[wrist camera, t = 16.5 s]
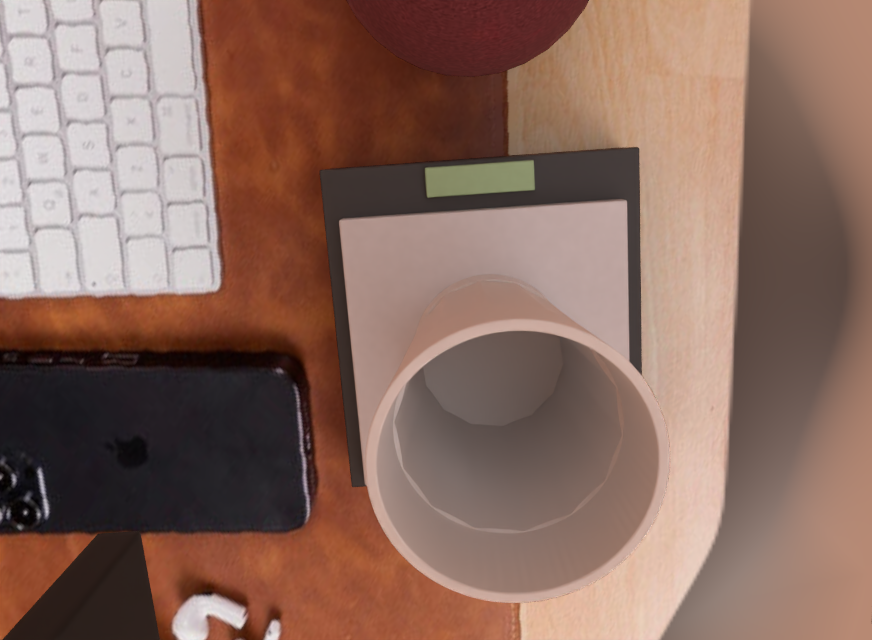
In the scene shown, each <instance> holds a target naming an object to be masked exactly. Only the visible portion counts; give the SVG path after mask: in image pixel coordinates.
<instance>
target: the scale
mask: <svg viewBox="0 0 872 640" xmlns="http://www.w3.org/2000/svg"><path fill="white" fill-rule="evenodd" d="M320 180H321V190H322V200H323V209H324V219H325V229H326V239H327V248H328V258H329V268H330V278H331V287H332V297H333V307H334V317H335V326H336V336H337V346H338V356H339V365H340V375H341V385H342V395H343V404H344V414H345V424H346V434H347V443H348V453H349V463H350V473H351V482H352V487H363V486H367V483H366V474H365V453H366V444H367V438H368V433H369V429H370V426H371V422H372V419H373V417H374V414H375V411H376V409H377V407H378V405H379V403H380V401H381V399H382V397H383V395H384V393H385V392H386V390H387V388H388V386H389V384H390V383H391V381H392V379H393V377H394V375H395V374H396V372H397V370H398V368H399V366H400V364H401V362H402V360H403V358H404V356H405V354H406V352H407V350H408V348H409V346H410V344H411V342H412V340H413V338H414V336H415V334H416V330H417V327H418V324H419V321H420V319H421V317H422V315H423V313H424V311H425V310H426V308H427V307H428V305H429V304H430V303H431V302H432V300H433V299H434V298H435V297H436V296H437V295H438V294H439V293H441V292H442V291H443V290H444V289H446V288H447V287H449V286H450V285H452V284H454V283H456V282H458V281H460V280H463V279H465V278H468V277H472V276H477V275H484V274H497V275H505V276H510V277H513V278H516V279H519V280H521V281H524V282H526V283H528V284H529V285H531V286H533V287H534V288H536V289H537V290H538V291H539V292H541V293H542V294H543V295H544V296H545V297H546V298H547V299H548V300H549V302H550V303H551V304H552V305H554V306H555V307H556V308H558V309H559V310H560V311H562V312H563V313H564V314H566V315H567V316H568V317H569V318H571V319H572V320H573V321H575V322H576V323H577V324H579V325H580V326H582V327H583V328H585V329H586V330H588V331H589V332H591V333H592V334H594V335H595V336H596V337H598V338H599V339H601V340H602V341H604V342H605V343H607V344H608V345H610V346H611V347H612V348H614V349H615V350H616V351H618V352H619V353H620V354H621V355H622V356H624V357H625V358H626V359H627V360H628V361H629V362H630V363H631V364H632V365H633V366H634V367H635V368H636V369H637V371H638V372H639V373H640V374H641V375H642V362H641V271H640V180H639V148H638V147H629V148H610V149H596V150H582V151H568V152H554V153H540V154H526V155H512V156H498V157H485V158H471V159H457V160H443V161H429V162H415V163H401V164H387V165H373V166H360V167H346V168H332V169H325V170H320Z"/></svg>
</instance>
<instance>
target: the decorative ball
mask: <svg viewBox="0 0 872 640" xmlns="http://www.w3.org/2000/svg"><path fill="white" fill-rule="evenodd" d="M588 1H589V0H347V2H348V4H349V6H350V7H351V9H352V11H353V13H354V14H355V16H356V18H357V19H358V20H359V21H360V23H361V24H362V25H363V26H364V27H365V28H366V30H367V31H368V32H369V33H370V34H371V35H372V36H373V38H374V39H375V40H376V41H378V42H379V43H380V44H381V45H383V46H384V47H385V48H387V49H388V50H389V51H390V52H392V53H393V54H394V55H396V56H397V57H399V58H401V59H403V60H405V61H407V62H409V63H411V64H413V65H415V66H417V67H419V68H421V69H425V70H428V71H432V72H436V73H440V74H443V75H450V76H467V77H475V76H482V75H488V74H495V73H500V72H503V71H506V70H508V69H511V68H514V67H516V66H519V65H522V64H524V63H526V62H528V61H529V60H531V59H533V58H534V57H536V56H538V55H539V54H541V53H542V52H544V51H546V50H547V49H549V48H550V47H551V46H552V45H553V44H554V43H555V42H556V41H557V40H558V39H559V38H561V37H562V36H563V35H564V34H565V33H566V32H567V31H568V30H569V29H570V27H571V26H572V25H573V23H574V22H575V21H576V19H577V18H578V17H579V15H580V14H581V13H582V11H583V10H584V9H585V7H586V5H587V3H588Z"/></svg>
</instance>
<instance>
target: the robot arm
mask: <svg viewBox="0 0 872 640" xmlns="http://www.w3.org/2000/svg"><path fill="white" fill-rule="evenodd" d="M3 640H160V638H159V633H158V627H157V622H156V616H155V611H154V605H153V600H152V594H151V589H150V583H149V578H148V572H147V567H146V561H145V556H144V550H143V545H142V539H141V534H140V531H134V532H118V533H102V534H98V535H97V536H96V537H95V538H94V539H93V540H92V541H91V542H90V544H89V545H88V546H87V547H86V548H85V549H84V550H83V551H82V552H81V553H80V555H79V556H78V557H77V558H76V559H75V560H74V561H73V562H72V563H71V565H70V566H69V567H68V568H67V569H66V570H65V571H64V572H63V573H62V574H61V576H60V577H59V578H58V579H57V580H56V581H55V582H54V583H53V584H52V586H51V587H50V588H49V589H48V590H47V591H46V592H45V593H44V594H43V595H42V597H41V598H40V599H39V600H38V601H37V602H36V603H35V604H34V605H33V607H32V608H31V609H30V610H29V611H28V612H27V613H26V614H25V615H24V616H23V618H22V619H21V620H20V621H19V622H18V623H17V624H16V625H15V626H14V628H13V629H12V630H11V631H10V632H9V633H8V634H7V635H6V636H5V637H4V639H3Z"/></svg>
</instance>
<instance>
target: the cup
mask: <svg viewBox="0 0 872 640" xmlns="http://www.w3.org/2000/svg"><path fill="white" fill-rule="evenodd" d="M669 471H670V445H669V437H668V432H667V427H666V423H665V420H664V417H663V414H662V411H661V408H660V406H659V404H658V402H657V399H656V397H655V396H654V394H653V392H652V390H651V389H650V387H649V385H648V384H647V382H646V381H645V380H644V378H643V377H642V375H641V374H640V373H639V372H638V371H637V369H636V368H635V367H634V366H633V365H632V364H631V363H630V362H629V361H628V360H627V359H626V358H625V357H624V356H622V355H621V354H620V353H619V352H618V351H616V350H615V349H614V348H612V347H611V346H610V345H608V344H607V343H605V342H604V341H602V340H601V339H599V338H598V337H596V336H595V335H594V334H592V333H591V332H589V331H588V330H586V329H585V328H583V327H582V326H580V325H579V324H577V323H576V322H575V321H573V320H572V319H571V318H569V317H568V316H567V315H566V314H564V313H563V312H562V311H560V310H559V309H558V308H556V307H555V306H554V305H552V304H551V303H550V302H549V300H548V299H547V298H546V297H545V296H544V295H543V294H542V293H541V292H539V291H538V290H537V289H536V288H534V287H533V286H531V285H529V284H528V283H526V282H524V281H521V280H519V279H516V278H513V277H510V276H505V275H497V274H484V275H477V276H472V277H468V278H465V279H463V280H460V281H458V282H456V283H454V284H452V285H450V286H449V287H447V288H446V289H444V290H443V291H442V292H441V293H439V294H438V295H437V296H436V297H435V298H434V299H433V300H432V302H431V303H430V304H429V305H428V307H427V308H426V310H425V311H424V313H423V315H422V317H421V319H420V321H419V324H418V327H417V330H416V334H415V336H414V338H413V340H412V342H411V344H410V346H409V348H408V350H407V352H406V354H405V356H404V358H403V360H402V362H401V364H400V366H399V368H398V370H397V372H396V374H395V375H394V377H393V379H392V381H391V383H390V384H389V386H388V388H387V390H386V392H385V393H384V395H383V397H382V399H381V401H380V403H379V405H378V407H377V409H376V411H375V414H374V417H373V419H372V422H371V426H370V429H369V433H368V438H367V444H366V453H365V474H366V483H367V489H368V493H369V497H370V501H371V504H372V507H373V510H374V512H375V515H376V517H377V519H378V521H379V524H380V525H381V527H382V529H383V531H384V533H385V534H386V536H387V537H388V539H389V540H390V542H391V543H392V544H393V546H394V547H395V548H396V549H397V550H398V552H399V553H400V554H401V555H402V556H403V557H404V558H405V559H406V560H407V561H408V562H409V563H410V564H411V565H412V566H414V567H415V568H416V569H417V570H418V571H420V572H421V573H422V574H424V575H425V576H427V577H428V578H430V579H431V580H433V581H435V582H436V583H438V584H440V585H442V586H444V587H446V588H448V589H450V590H453V591H455V592H458V593H460V594H463V595H466V596H470V597H473V598H477V599H482V600H487V601H493V602H503V603H526V602H536V601H543V600H548V599H552V598H556V597H560V596H563V595H566V594H570V593H572V592H575V591H577V590H580V589H582V588H584V587H586V586H588V585H590V584H592V583H594V582H596V581H597V580H599V579H601V578H602V577H604V576H605V575H607V574H608V573H609V572H611V571H612V570H614V569H615V568H616V567H617V566H618V565H620V564H621V563H622V562H623V561H624V560H625V559H626V558H627V557H628V556H629V555H630V554H631V553H632V552H633V551H634V550H635V549H636V548H637V546H638V545H639V544H640V543H641V541H642V540H643V539H644V537H645V536H646V534H647V533H648V531H649V530H650V528H651V526H652V525H653V523H654V521H655V519H656V517H657V515H658V513H659V510H660V508H661V505H662V502H663V499H664V496H665V493H666V489H667V484H668V479H669Z"/></svg>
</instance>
